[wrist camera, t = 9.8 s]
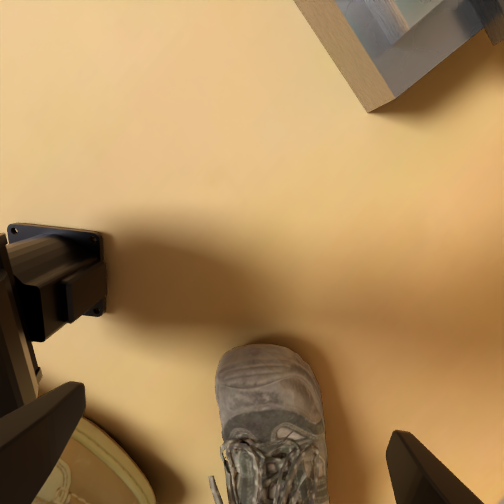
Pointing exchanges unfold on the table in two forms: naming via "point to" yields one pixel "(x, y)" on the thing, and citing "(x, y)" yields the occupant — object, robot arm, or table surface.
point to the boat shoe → (95, 472)
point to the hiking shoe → (271, 428)
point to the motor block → (396, 38)
